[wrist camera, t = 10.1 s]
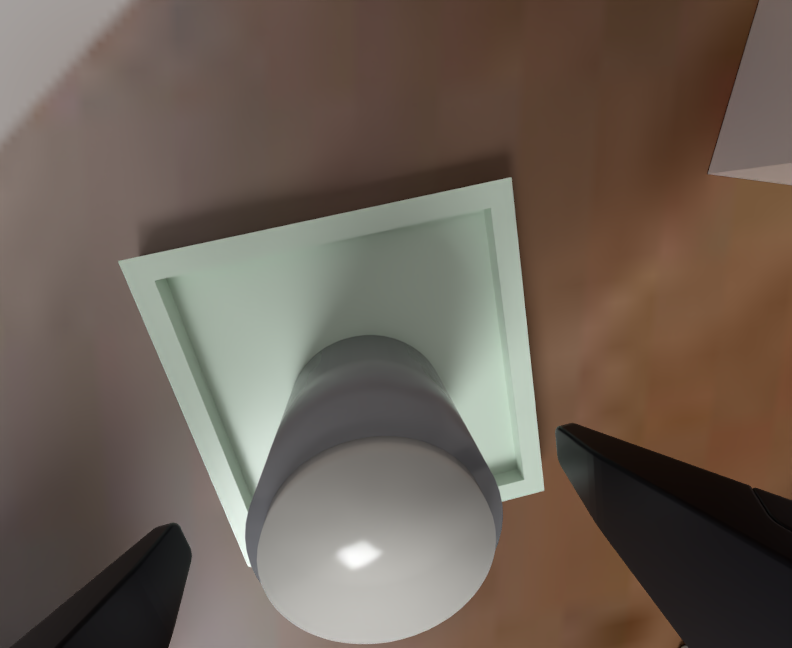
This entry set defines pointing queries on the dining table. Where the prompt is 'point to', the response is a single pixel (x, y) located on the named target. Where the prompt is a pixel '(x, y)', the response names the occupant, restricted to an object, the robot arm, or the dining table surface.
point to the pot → (372, 498)
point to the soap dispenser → (760, 103)
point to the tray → (346, 325)
